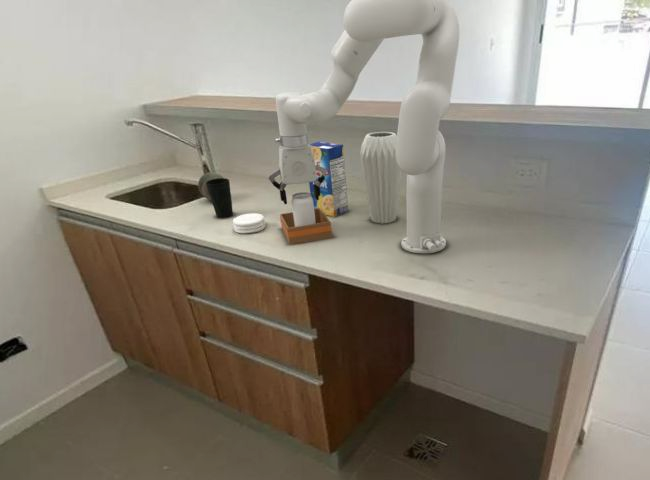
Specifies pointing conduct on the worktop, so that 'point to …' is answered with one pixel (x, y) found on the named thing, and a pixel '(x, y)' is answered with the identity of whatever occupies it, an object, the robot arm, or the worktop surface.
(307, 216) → the can
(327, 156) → the beverage box
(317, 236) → the wooden box
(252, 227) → the white round disc
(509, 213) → the worktop surface
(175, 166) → the worktop surface
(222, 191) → the cup
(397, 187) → the vase
